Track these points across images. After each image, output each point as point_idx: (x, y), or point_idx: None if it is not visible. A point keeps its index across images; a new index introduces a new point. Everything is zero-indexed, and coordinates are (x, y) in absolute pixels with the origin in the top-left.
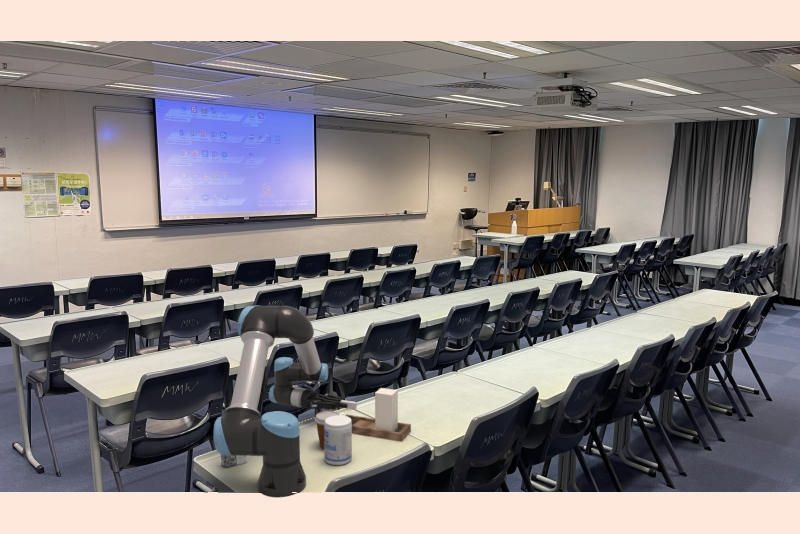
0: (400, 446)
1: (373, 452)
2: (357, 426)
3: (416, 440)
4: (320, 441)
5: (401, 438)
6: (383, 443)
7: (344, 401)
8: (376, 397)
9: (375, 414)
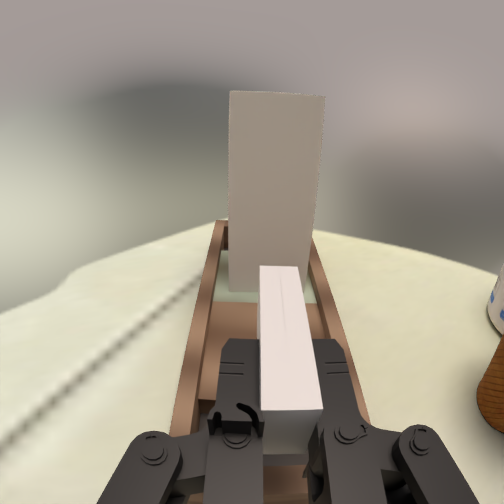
0: (334, 244)
1: (417, 278)
2: (341, 345)
3: None
4: None
5: None
6: (347, 275)
7: (301, 359)
8: (321, 121)
9: (313, 218)
